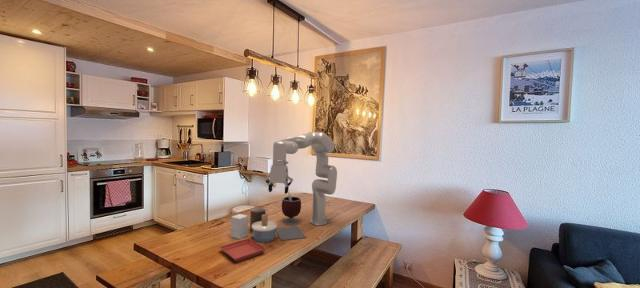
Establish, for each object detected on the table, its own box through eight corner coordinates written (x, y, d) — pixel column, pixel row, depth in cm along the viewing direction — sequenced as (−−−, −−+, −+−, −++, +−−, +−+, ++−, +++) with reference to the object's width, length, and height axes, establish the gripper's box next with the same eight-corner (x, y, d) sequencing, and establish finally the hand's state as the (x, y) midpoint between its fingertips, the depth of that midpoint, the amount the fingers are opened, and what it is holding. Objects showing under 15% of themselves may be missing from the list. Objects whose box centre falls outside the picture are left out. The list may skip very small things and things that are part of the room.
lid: (274, 223, 173) (274, 210, 172) (279, 231, 159) (279, 218, 158) (250, 225, 167) (250, 212, 167) (253, 234, 153) (253, 220, 153)
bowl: (272, 233, 172) (272, 222, 171) (276, 241, 159) (277, 229, 159) (251, 235, 167) (252, 224, 167) (254, 243, 155) (254, 231, 154)
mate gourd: (303, 224, 189) (304, 196, 188) (283, 226, 184) (284, 197, 183) (296, 217, 204) (297, 191, 203) (278, 219, 198) (279, 192, 197)
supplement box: (248, 235, 166) (248, 215, 165) (238, 239, 160) (239, 218, 159) (239, 233, 170) (240, 213, 169) (230, 236, 163) (230, 216, 163)
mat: (297, 226, 184) (297, 225, 184) (306, 238, 166) (306, 237, 166) (274, 229, 179) (274, 228, 179) (281, 241, 160) (281, 240, 160)
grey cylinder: (261, 233, 170) (262, 210, 169) (247, 232, 172) (247, 208, 171) (267, 228, 179) (268, 206, 179) (253, 227, 181) (254, 205, 181)
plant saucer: (218, 252, 143) (219, 246, 143) (249, 243, 156) (249, 237, 156) (234, 265, 130) (235, 258, 130) (266, 254, 143) (266, 248, 143)
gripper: (295, 163, 156) (294, 192, 157) (268, 161, 160) (267, 189, 160) (291, 164, 148) (290, 195, 149) (262, 162, 152) (261, 192, 153)
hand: (278, 192), depth 155 cm, fingers open, 9 cm apart
